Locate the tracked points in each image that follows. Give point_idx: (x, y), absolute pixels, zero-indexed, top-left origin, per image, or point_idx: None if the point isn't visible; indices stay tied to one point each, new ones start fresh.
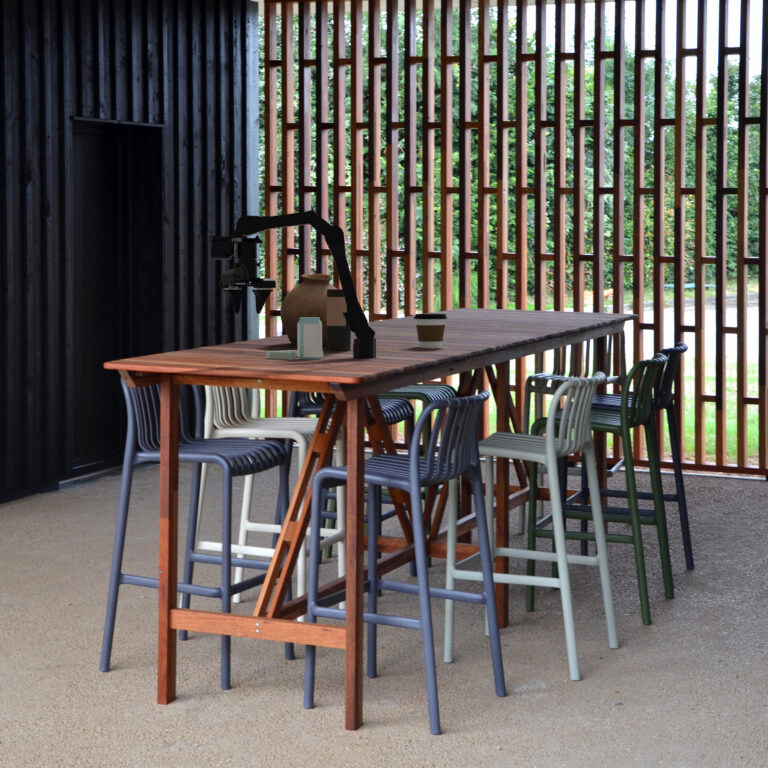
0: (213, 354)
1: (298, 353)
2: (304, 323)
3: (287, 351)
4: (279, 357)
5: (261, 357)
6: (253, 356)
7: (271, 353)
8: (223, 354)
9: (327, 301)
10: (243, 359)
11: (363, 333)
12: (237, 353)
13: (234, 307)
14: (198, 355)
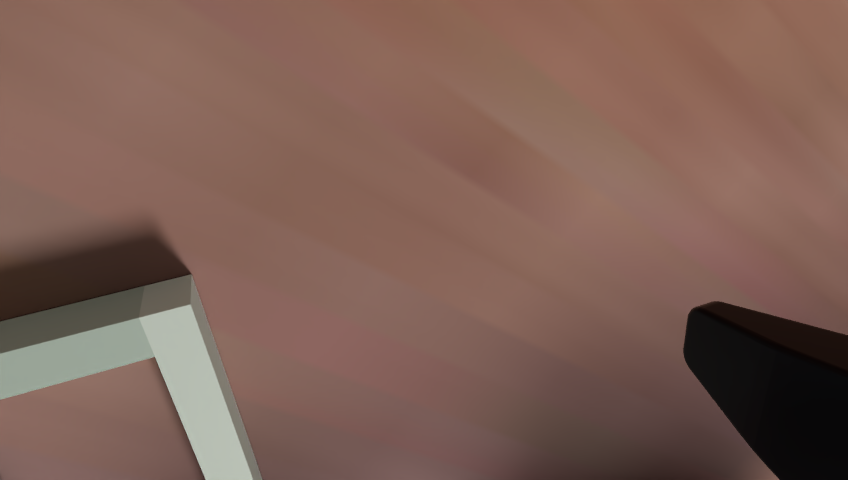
0: (826, 208)
1: None
2: None
3: (205, 473)
4: (2, 327)
5: (363, 306)
6: (503, 310)
7: (116, 315)
8: (781, 254)
9: None
10: (179, 40)
11: None
12: None
13: (813, 346)
14: (843, 75)
